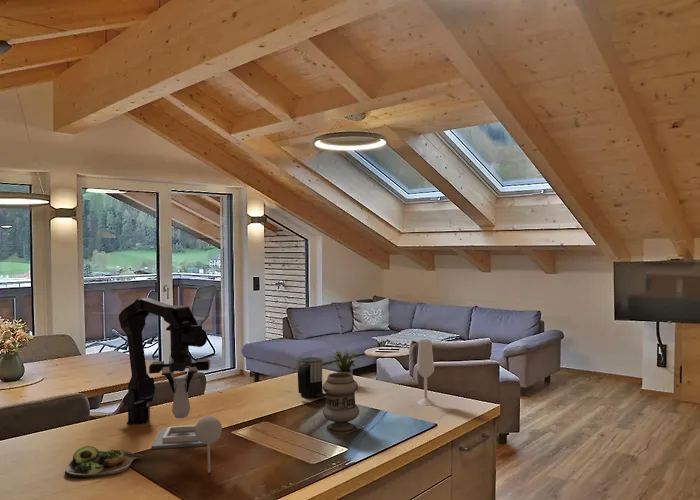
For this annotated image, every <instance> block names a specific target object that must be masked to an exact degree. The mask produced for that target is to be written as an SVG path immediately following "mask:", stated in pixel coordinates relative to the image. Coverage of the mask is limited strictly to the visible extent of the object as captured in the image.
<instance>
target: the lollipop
mask: <svg viewBox="0 0 700 500" xmlns="http://www.w3.org/2000/svg"><path fill="white" fill-rule="evenodd" d="M195 425H196V427H195V435H196V438H197V439H198V440H199V441H200V442H202V443H204V444H206V447H207V452H206V453H207V473H211V444H213V443H215V442H217V441H218V439H220V437H221V435H222V432H223V426H222V424H221V421H220V420H219V419H218V418H217V417H214V416H211V415H210V416H208V415H207V416H203V417H201V418H200V419H199V420H198V421H197V423H196V424H195Z"/></svg>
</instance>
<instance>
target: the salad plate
mask: <svg viewBox="0 0 700 500" xmlns="http://www.w3.org/2000/svg"><path fill="white" fill-rule="evenodd" d="M143 457H144V455H143V454H138V453H133V452H131V451H128V450H126V449H125V450H123V449H119V450H118V449H110V450H108V451H103V450H99V449H97V448H96V447H95V446H90V445H87V446H86V445H85V446H83V447H80V448H78V449H77V450H76V451H75V452H74V454H73V455H72V460H71V461H70V462H69V464H68V466H67V467H66V469H65V470H64V475H66V476H67V477H68V476H69V477H68V478H70V477H71V478H70V479H89V478H97V477H103V476H105V477H106V476H109V475H116V474H119V473H122V472H123V471H126V470H127V469H129V468H130V466H131V465H132V463H133V461H135V460H137V459H139V458H140V459H141V458H143ZM111 468H116V469H113V470H108V469H111ZM104 470H108V471H104ZM102 471H103V472H102Z"/></svg>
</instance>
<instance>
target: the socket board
mask: <svg viewBox="0 0 700 500" xmlns="http://www.w3.org/2000/svg"><path fill="white" fill-rule="evenodd" d="M195 427H196V424H194V425H193V424H192V425H191V424H189V425H176V426H168V427H166V428H161V429H160V431H159V432H158V433H157V436H156V438H155V439H154V441H153V443H152V444H151V449H152V450H157V449H172V448H185V447H186V448H187V447H202V446H204V447H206V446H207V444H204V443H202V442H200V441H199V440H198V439H197V438H196V435H195Z"/></svg>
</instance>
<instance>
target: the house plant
mask: <svg viewBox="0 0 700 500" xmlns="http://www.w3.org/2000/svg"><path fill="white" fill-rule="evenodd" d="M346 350H347V348H345V350H344V355H343V357H342V354H341V351H338V350H337V349H336V350H335V353H334V355H332V357H333V358H335V360H336V361H332V364H333V365H336V366H337V367H336V368H337V370H336V373H337V372H347V373H351V374H352V375H353V373H354V370H353V369H351V368H352V366H353V367H354V368H356V364H355V360H354V359H353V360H352V358H353V357H354V356H355V355H356V354H357V352H358V350H356V351H354V352H353V353H352V354H351V355H350V356H349V351H348V350H347V351H346ZM329 352H330V353H332V351H331V350H330V351H329Z"/></svg>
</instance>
